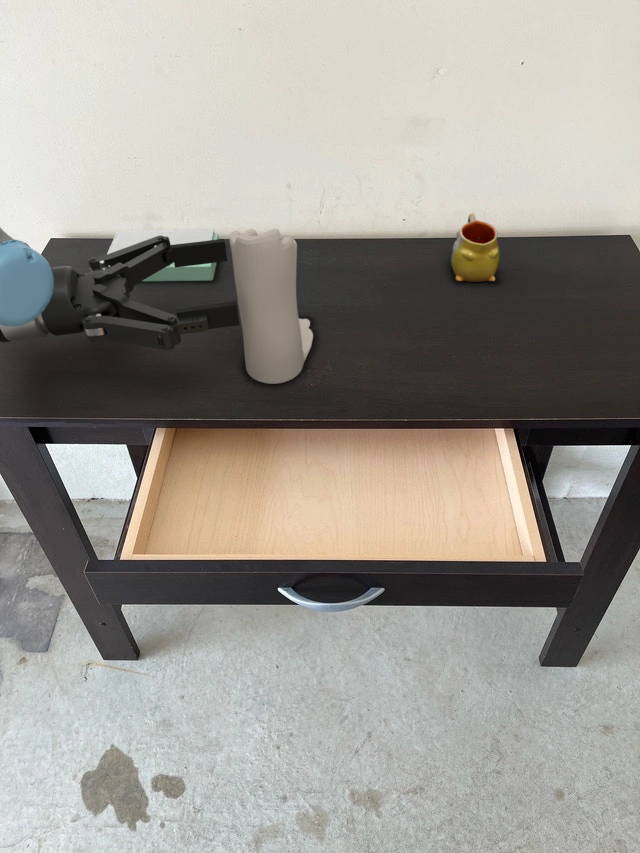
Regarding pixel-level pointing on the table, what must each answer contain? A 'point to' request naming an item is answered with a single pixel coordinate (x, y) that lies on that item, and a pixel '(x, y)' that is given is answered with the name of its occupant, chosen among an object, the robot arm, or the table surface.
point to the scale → (176, 237)
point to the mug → (475, 252)
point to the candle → (269, 305)
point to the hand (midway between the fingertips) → (231, 279)
